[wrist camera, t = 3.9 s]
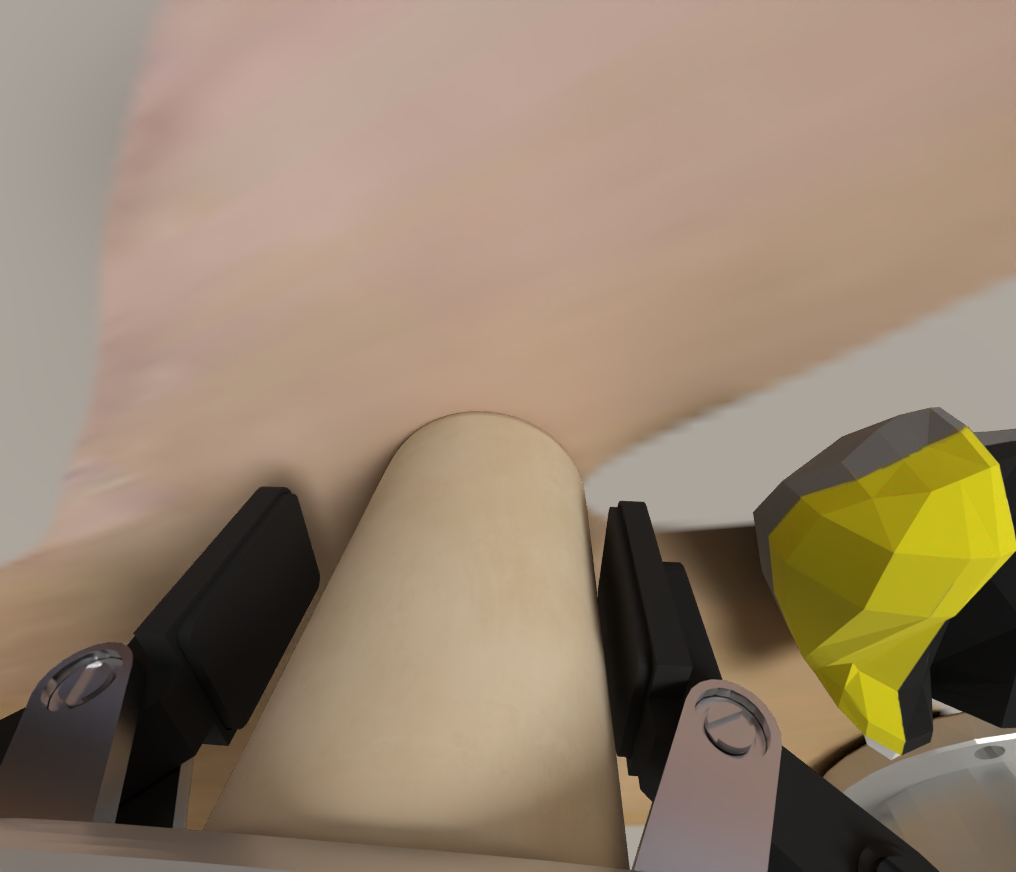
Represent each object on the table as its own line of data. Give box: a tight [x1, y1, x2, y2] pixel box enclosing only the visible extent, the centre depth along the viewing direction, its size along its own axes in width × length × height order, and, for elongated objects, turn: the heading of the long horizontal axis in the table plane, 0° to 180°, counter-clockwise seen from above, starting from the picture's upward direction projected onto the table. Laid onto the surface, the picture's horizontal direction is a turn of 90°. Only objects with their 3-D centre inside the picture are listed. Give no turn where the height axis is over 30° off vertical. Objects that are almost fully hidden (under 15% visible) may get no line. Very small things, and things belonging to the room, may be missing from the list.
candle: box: [203, 412, 630, 870], centre depth 9 cm, size 6×6×10 cm
